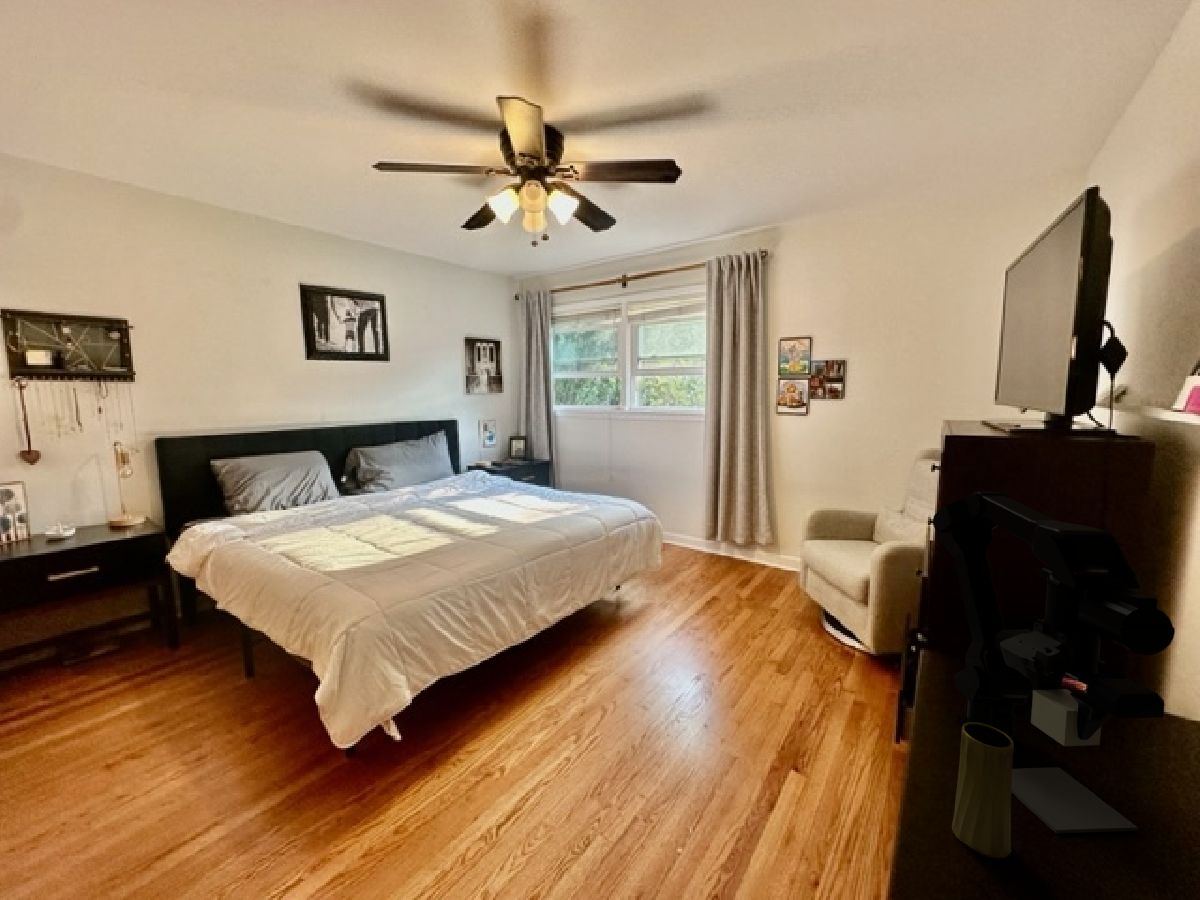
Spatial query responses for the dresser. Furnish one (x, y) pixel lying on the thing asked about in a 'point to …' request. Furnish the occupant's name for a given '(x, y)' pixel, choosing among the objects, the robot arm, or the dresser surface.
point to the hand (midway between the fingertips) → (1064, 726)
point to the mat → (1065, 802)
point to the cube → (1059, 717)
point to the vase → (984, 790)
